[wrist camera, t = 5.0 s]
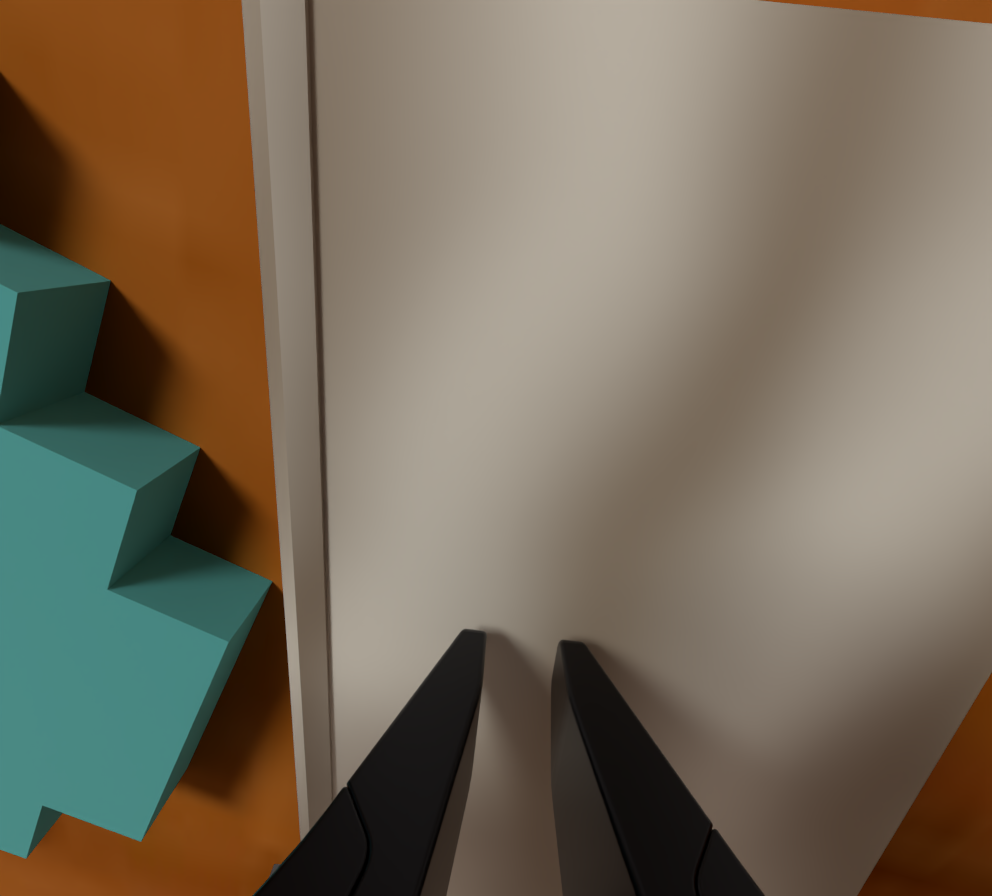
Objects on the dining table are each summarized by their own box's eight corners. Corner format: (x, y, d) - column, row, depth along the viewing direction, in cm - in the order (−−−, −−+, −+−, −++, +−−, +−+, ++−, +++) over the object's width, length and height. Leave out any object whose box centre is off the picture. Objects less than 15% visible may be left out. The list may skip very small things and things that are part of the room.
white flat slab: (1195, 93, 7) (1373, 57, 6) (781, 900, 14) (811, 980, 12) (293, 1, 7) (233, -56, 6) (327, 846, 14) (304, 919, 13)
